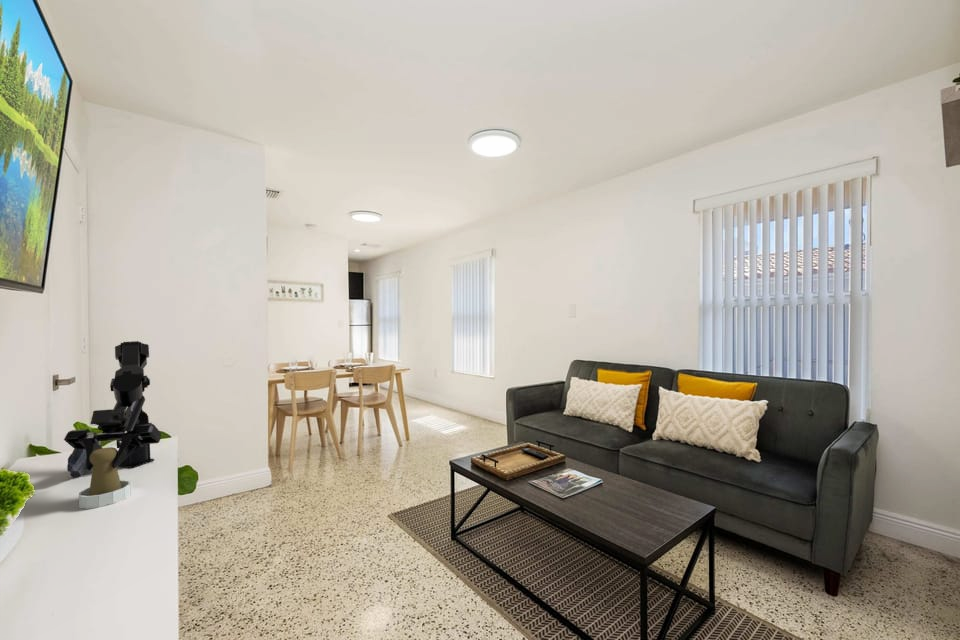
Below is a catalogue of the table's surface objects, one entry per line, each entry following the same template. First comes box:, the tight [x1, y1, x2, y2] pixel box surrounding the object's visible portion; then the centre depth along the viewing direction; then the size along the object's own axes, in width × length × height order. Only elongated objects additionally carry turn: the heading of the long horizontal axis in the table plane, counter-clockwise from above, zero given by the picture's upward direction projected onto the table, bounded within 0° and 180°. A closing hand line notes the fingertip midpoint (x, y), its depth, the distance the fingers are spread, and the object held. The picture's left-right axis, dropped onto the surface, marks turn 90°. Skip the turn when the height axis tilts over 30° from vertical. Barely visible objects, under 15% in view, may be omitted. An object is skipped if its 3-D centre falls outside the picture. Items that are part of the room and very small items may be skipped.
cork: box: [89, 446, 121, 496], centre depth 102 cm, size 6×6×11 cm
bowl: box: [78, 479, 132, 510], centre depth 102 cm, size 9×9×3 cm
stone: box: [66, 448, 88, 477], centre depth 118 cm, size 14×6×10 cm, turn 44°
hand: (100, 468), depth 100 cm, fingers closed on cork, 5 cm apart
